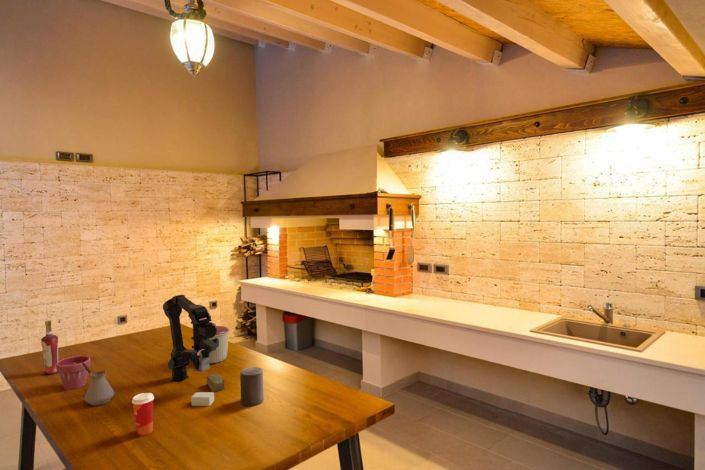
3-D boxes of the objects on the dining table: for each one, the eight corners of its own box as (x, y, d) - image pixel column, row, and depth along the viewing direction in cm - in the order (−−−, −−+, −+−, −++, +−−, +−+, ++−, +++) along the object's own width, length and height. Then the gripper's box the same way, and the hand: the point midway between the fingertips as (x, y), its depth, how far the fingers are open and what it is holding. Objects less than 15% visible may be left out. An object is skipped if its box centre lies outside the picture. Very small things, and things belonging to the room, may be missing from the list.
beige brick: (191, 406, 189) (191, 397, 189) (196, 401, 194) (196, 392, 194) (209, 406, 189) (209, 397, 189) (214, 401, 194) (213, 392, 194)
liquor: (40, 374, 232) (36, 322, 230) (54, 369, 238) (50, 318, 236) (49, 376, 229) (45, 323, 227) (63, 371, 236) (59, 319, 234)
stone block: (213, 393, 202) (212, 382, 202) (206, 385, 211) (205, 375, 211) (225, 390, 205) (225, 379, 205) (218, 382, 215) (218, 372, 214)
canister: (238, 358, 248) (236, 321, 246) (212, 368, 233) (210, 329, 231) (216, 353, 258) (214, 317, 256) (190, 362, 242) (187, 325, 241)
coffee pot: (119, 399, 198) (117, 367, 196) (91, 409, 188) (89, 375, 187) (97, 389, 210) (95, 358, 209) (71, 398, 201) (68, 365, 200)
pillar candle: (244, 408, 185) (242, 373, 184) (238, 399, 194) (237, 366, 193) (266, 403, 190) (265, 369, 189) (260, 394, 199) (259, 362, 198)
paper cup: (138, 427, 172) (136, 392, 171) (159, 426, 172) (156, 391, 171) (130, 438, 164) (127, 401, 163) (151, 436, 165) (149, 400, 164)
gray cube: (193, 370, 203) (192, 360, 202) (201, 366, 207) (200, 356, 207) (202, 372, 201) (201, 361, 201) (209, 368, 206) (209, 357, 205)
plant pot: (96, 385, 215) (94, 359, 214) (62, 394, 205) (60, 368, 204) (86, 377, 225) (84, 353, 224) (54, 386, 215) (52, 361, 214)
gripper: (199, 341, 191) (201, 376, 192) (226, 330, 209) (228, 362, 210) (179, 339, 196) (181, 373, 197) (208, 328, 213) (209, 359, 214)
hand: (201, 367), depth 204 cm, fingers closed on gray cube, 5 cm apart
